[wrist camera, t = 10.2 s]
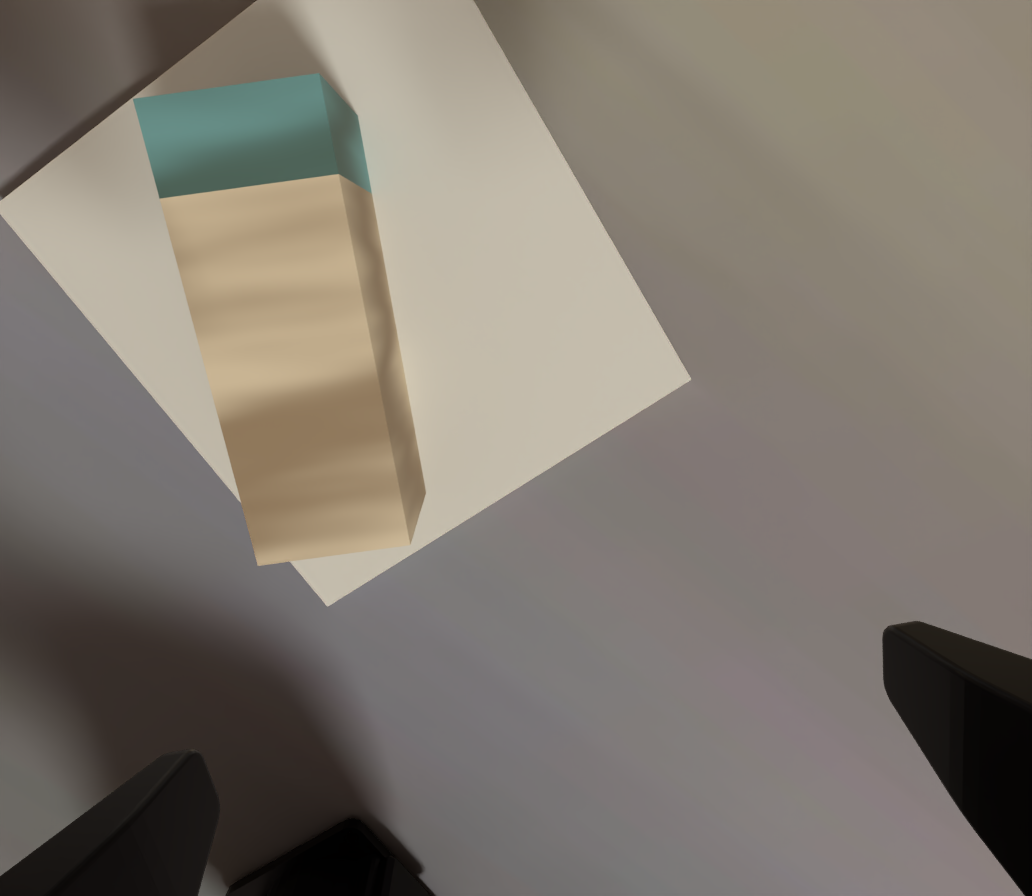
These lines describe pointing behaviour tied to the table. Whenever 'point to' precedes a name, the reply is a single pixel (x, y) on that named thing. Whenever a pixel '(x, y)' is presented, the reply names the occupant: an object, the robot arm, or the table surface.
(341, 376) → the birch block
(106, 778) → the table surface
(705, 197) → the table surface
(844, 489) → the table surface
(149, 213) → the cream square tile
